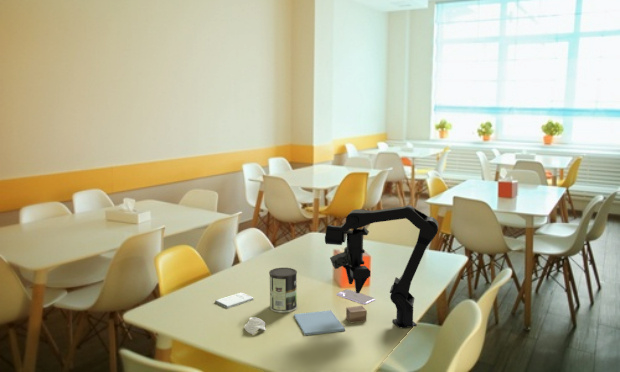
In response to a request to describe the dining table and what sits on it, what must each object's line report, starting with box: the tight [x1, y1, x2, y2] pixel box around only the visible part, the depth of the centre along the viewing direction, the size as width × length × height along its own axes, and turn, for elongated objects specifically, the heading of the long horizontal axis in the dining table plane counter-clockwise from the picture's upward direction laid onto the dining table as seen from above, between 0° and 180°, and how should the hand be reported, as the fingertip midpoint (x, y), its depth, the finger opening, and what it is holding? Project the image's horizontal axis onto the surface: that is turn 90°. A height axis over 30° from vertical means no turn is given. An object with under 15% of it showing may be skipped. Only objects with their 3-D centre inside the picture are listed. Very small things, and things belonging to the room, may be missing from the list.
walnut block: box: [345, 305, 368, 324], centre depth 185 cm, size 4×6×4 cm
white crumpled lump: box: [244, 317, 267, 335], centre depth 177 cm, size 8×7×5 cm
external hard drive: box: [214, 291, 255, 309], centre depth 202 cm, size 2×8×12 cm
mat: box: [293, 310, 346, 336], centre depth 182 cm, size 16×14×1 cm
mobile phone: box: [335, 289, 376, 305], centre depth 206 cm, size 8×1×15 cm
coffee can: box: [268, 267, 298, 314], centre depth 195 cm, size 10×10×14 cm
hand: (354, 288), depth 185 cm, fingers open, 9 cm apart
